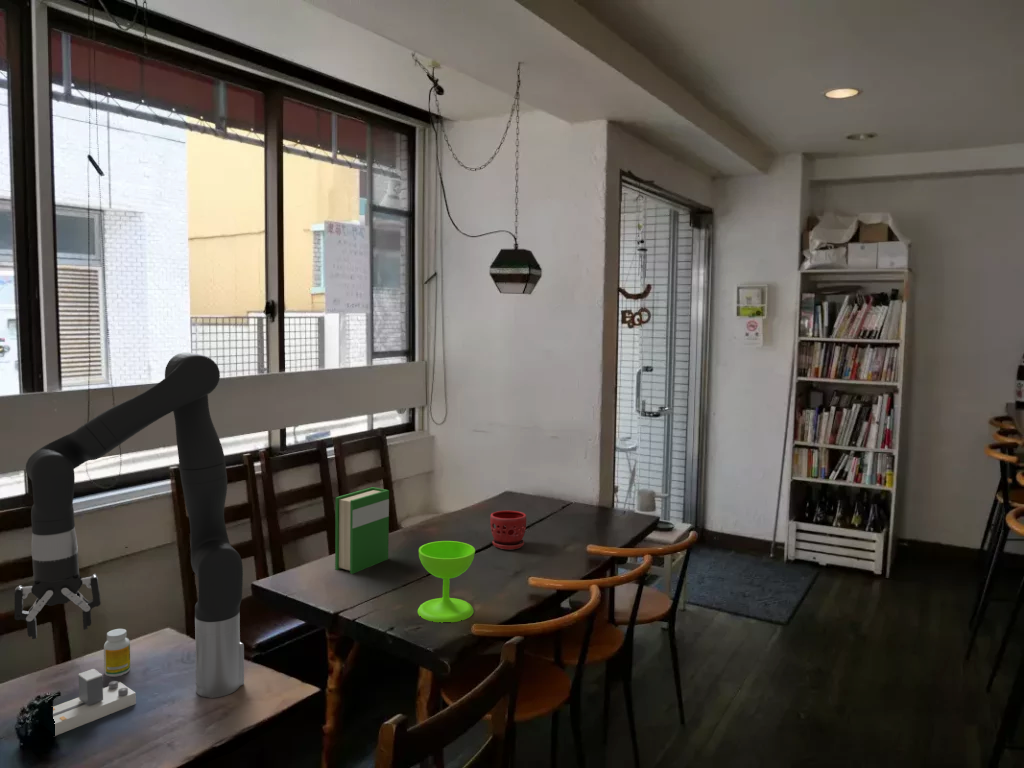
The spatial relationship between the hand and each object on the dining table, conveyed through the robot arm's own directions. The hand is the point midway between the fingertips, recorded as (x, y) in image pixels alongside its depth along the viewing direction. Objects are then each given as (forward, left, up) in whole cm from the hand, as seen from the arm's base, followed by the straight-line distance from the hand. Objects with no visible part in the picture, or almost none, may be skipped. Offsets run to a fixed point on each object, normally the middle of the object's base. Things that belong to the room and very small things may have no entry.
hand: (60, 632), depth 146 cm
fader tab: (-7, -4, -18) cm, 20 cm away
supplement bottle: (-19, -18, -21) cm, 33 cm away
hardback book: (-105, -32, -21) cm, 111 cm away
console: (-7, -4, -21) cm, 22 cm away
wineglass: (-95, +15, -21) cm, 98 cm away
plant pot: (-153, -8, -21) cm, 154 cm away
